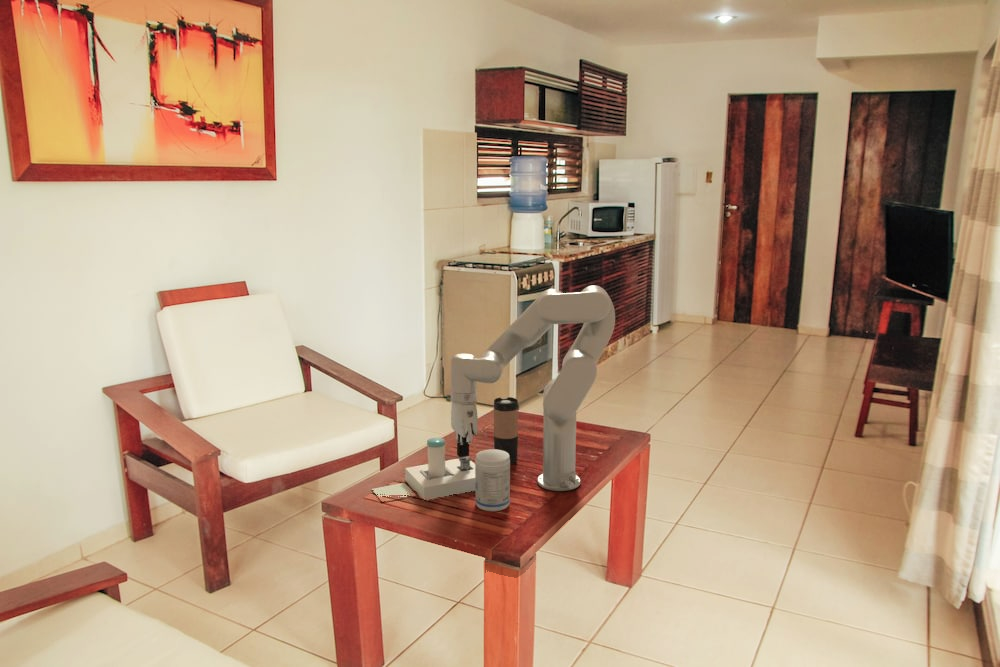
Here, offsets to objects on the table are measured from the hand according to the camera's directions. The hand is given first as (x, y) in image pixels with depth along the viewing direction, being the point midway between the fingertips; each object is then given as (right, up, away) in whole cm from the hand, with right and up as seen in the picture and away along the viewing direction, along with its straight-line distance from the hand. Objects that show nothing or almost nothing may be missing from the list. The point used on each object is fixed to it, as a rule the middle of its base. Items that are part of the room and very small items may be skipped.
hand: (463, 455), depth 225 cm
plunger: (+1, -6, +1) cm, 6 cm away
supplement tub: (+9, -11, -15) cm, 21 cm away
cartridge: (-7, -9, -2) cm, 12 cm away
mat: (-20, -10, -7) cm, 23 cm away
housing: (-5, -8, -1) cm, 10 cm away
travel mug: (+13, -5, +17) cm, 22 cm away
